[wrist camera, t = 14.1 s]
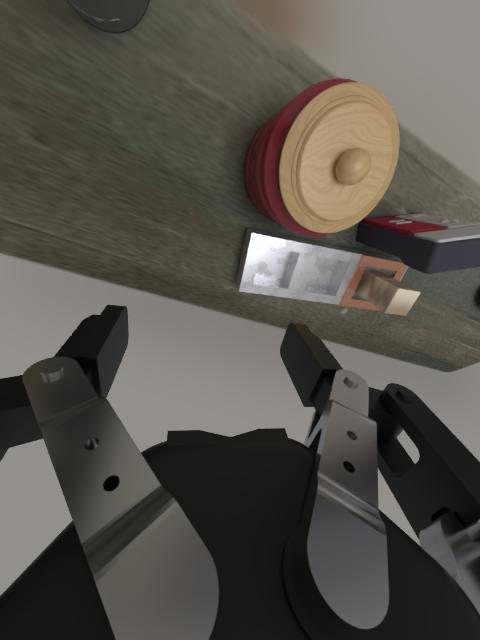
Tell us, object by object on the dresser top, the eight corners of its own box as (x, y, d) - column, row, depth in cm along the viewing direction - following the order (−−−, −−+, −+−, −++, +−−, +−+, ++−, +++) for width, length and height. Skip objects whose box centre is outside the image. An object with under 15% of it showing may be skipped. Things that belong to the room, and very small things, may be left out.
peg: (357, 265, 41) (399, 288, 33) (376, 269, 42) (421, 292, 34) (348, 286, 43) (384, 312, 35) (366, 289, 44) (405, 315, 36)
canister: (230, 203, 34) (256, 223, 19) (264, 91, 28) (338, -8, 13) (306, 232, 38) (376, 267, 23) (349, 138, 32) (480, 103, 17)
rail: (246, 227, 36) (252, 233, 32) (393, 257, 43) (411, 264, 39) (235, 281, 40) (239, 292, 37) (369, 301, 47) (384, 311, 43)
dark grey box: (421, 210, 39) (528, 226, 26) (412, 237, 41) (508, 263, 29) (359, 217, 38) (440, 237, 25) (354, 244, 40) (426, 274, 28)
